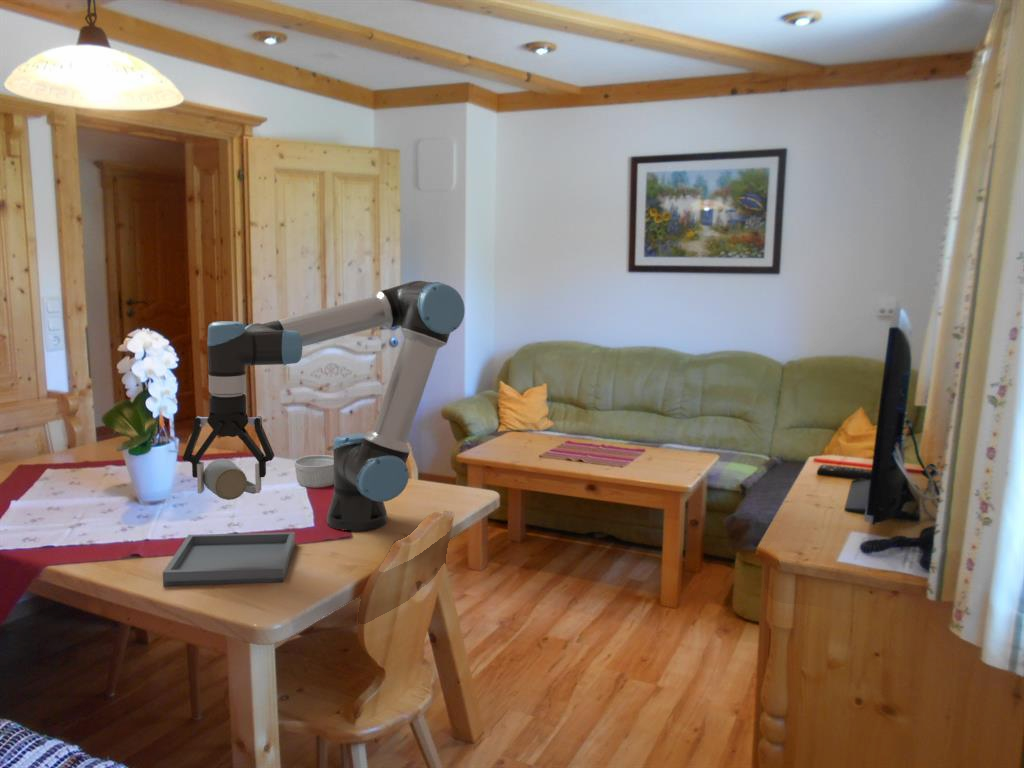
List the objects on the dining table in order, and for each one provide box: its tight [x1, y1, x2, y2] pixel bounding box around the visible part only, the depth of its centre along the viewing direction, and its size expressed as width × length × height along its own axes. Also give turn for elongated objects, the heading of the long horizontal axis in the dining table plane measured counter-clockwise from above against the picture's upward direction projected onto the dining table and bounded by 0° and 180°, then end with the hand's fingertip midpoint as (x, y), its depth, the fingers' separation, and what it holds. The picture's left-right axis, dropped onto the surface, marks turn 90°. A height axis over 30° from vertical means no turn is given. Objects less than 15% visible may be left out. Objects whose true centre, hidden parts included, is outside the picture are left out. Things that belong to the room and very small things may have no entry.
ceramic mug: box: [203, 458, 257, 501], centre depth 175 cm, size 11×8×8 cm
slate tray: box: [162, 531, 296, 587], centre depth 176 cm, size 24×22×3 cm
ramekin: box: [293, 454, 334, 489], centre depth 238 cm, size 13×13×7 cm
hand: (230, 491), depth 175 cm, fingers closed on ceramic mug, 11 cm apart
